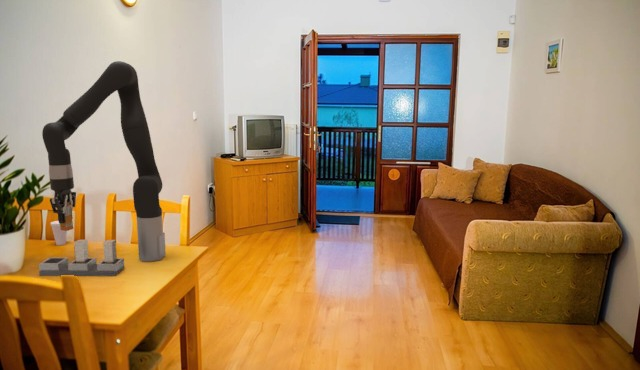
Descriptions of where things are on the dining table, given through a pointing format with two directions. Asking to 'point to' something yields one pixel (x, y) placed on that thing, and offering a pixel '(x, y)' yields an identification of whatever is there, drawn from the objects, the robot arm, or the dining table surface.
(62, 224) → the supplement box
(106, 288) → the dining table surface
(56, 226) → the smoothie
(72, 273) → the rail
